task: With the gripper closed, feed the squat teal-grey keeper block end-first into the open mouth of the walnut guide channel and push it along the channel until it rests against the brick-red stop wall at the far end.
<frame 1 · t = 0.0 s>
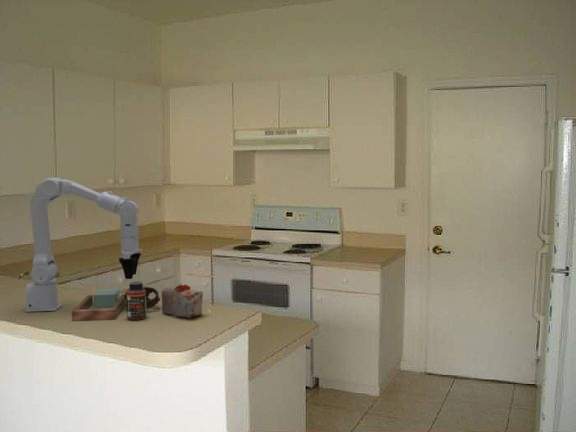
hand: (130, 276, 196), 10 cm above the table, fingers open, 7 cm apart
keeper block: (107, 304, 200), on the table
food item: (182, 315, 185), on the table
guide channel: (101, 310, 191), on the table
supplement bottle: (136, 318, 182), on the table
pottery mug: (142, 309, 194), on the table
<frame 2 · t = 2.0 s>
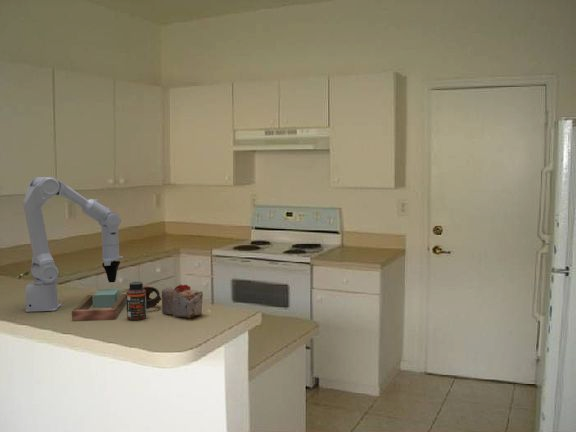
hand: (112, 281, 209), 6 cm above the table, fingers closed
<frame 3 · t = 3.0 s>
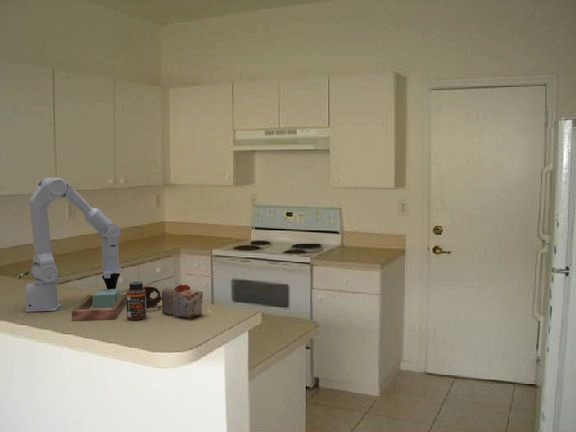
hand: (111, 294, 208), 1 cm above the table, fingers closed
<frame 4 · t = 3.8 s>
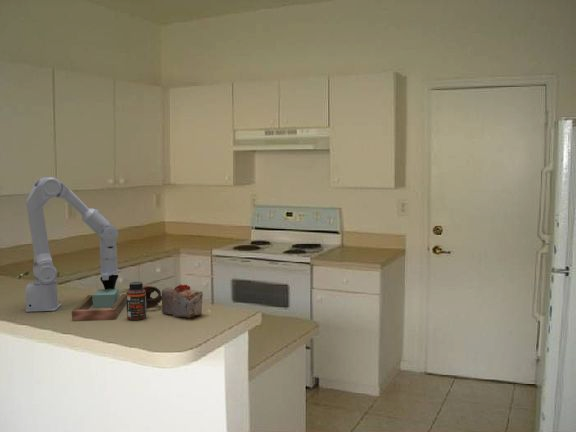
hand: (110, 296, 205), 1 cm above the table, fingers closed
keeper block: (106, 304, 200), on the table, touching gripper
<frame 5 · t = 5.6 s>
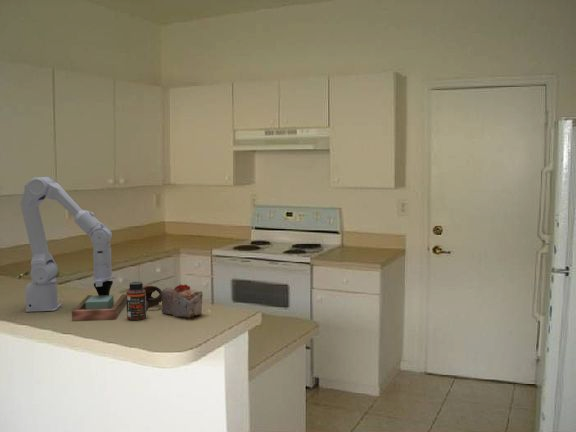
hand: (104, 303, 195), 1 cm above the table, fingers closed
keeper block: (100, 312, 189), on the table, touching gripper
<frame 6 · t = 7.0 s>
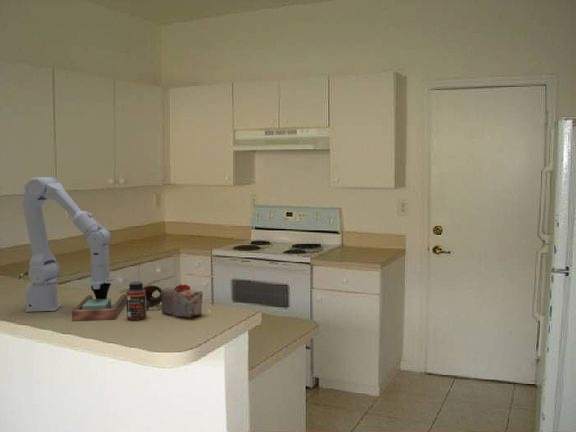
hand: (101, 306, 191), 1 cm above the table, fingers closed
keeper block: (97, 316, 186), on the table
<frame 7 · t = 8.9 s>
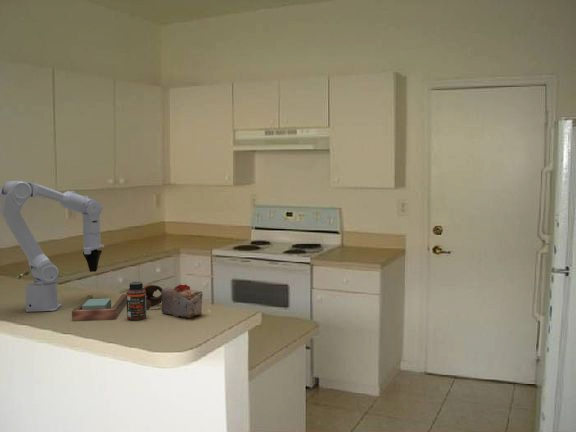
hand: (93, 271, 204), 10 cm above the table, fingers closed
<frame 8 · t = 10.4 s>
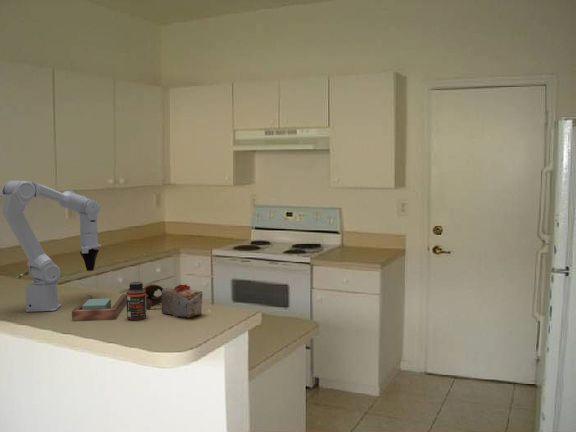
hand: (90, 270, 206), 10 cm above the table, fingers closed
at the end: keeper block inside the target area (0.5 cm from its centre), on the table; keeper block moved 14.5 cm from its start; keeper block tilted 0° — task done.
